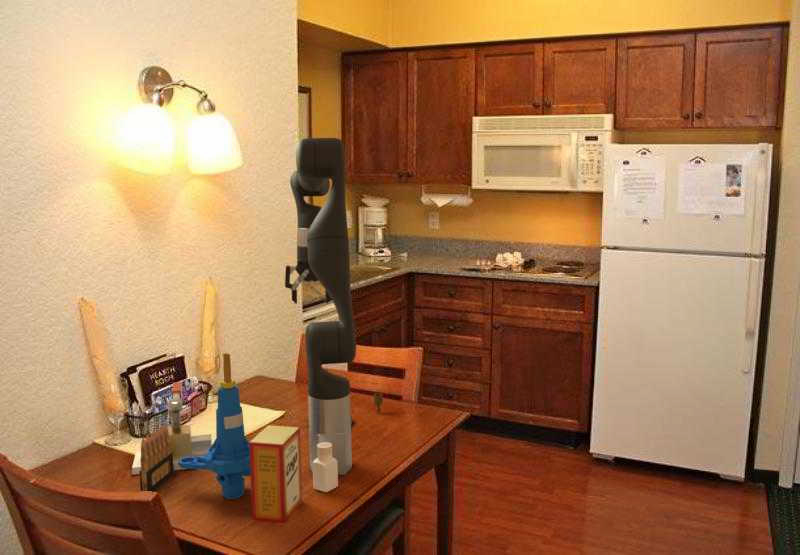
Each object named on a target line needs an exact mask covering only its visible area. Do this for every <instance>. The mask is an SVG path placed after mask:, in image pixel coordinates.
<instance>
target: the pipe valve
mask: <svg viewBox="0 0 800 555" xmlns="http://www.w3.org/2000/svg"><path fill="white" fill-rule="evenodd" d="M170 421H171V425H170V426H167V427H168V432H169V439H170V445H171V452H172V453H173V461H174V460H179V459H181V458H183V457H189V456H193V457H196V456H204V455H205V454H207V452H208V451H209V450H210V448H211V446H212V445H213V443H212V434H211V433H210V434H200V435H199V434H198V435H192V427H191V424H184V425H182V422H181V421H182V420H181V410H178V411H170ZM145 442H146V440H145Z"/></svg>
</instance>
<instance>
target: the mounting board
mask: <svg viewBox="0 0 800 555" xmlns="http://www.w3.org/2000/svg"><path fill="white" fill-rule="evenodd" d="M134 454H135V455H134V459H133V463H132V467H131V473H132V475H140V470H141V461H140V458H141V451H136V452H135V453H134ZM196 457H204V456H196ZM178 461H179V460H174V461H173V466H174V471H178V470H179V471H181V470H189V468H180V467H179V466H178ZM186 463H188V462H186Z"/></svg>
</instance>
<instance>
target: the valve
mask: <svg viewBox="0 0 800 555" xmlns="http://www.w3.org/2000/svg"><path fill="white" fill-rule="evenodd" d="M222 356H223V358H222V359H223V360H222V361H223V365H222V366H223V380H221V381H220V386H218V389H217V408H216V409H215V421H216V425H215V426H216V427H215V428H216V430H215V431H216V433H215V434H216V436H215V439H214V441H213V443H212V446H211V448H210V450H209V451H208V452H207V454H205V455H204V457H193V456H189V457H183V458H181V459H179V461H178V466H179V467H180V468H189V469H191V470H202V471H204V470H208V471H210V472H212V473H214V474H217V475H216V476H215V479H216V481H217V483H218V485H221V492H222V497H224V498H226V499H228V500H233V499H239V498H240V497H242V496H244V494H245V489H246V487H245V486H246V485H245V481H246V480H245V477H250V478H251V470H250V448H249V442H250V441H248V439H247V437H246V434H245V423H244V415H243V407H242V406H241V399H240V392H239V385H237V384H236V383H237V382H236V380H235V379H233V378H232V365H231V354H230V353H228V352H224V353H223V354H222ZM186 462H188V463H186ZM189 469H188V470H189Z"/></svg>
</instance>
